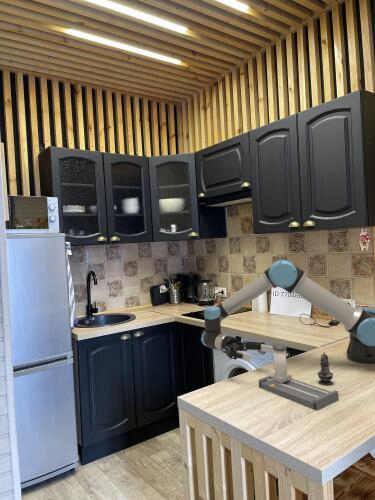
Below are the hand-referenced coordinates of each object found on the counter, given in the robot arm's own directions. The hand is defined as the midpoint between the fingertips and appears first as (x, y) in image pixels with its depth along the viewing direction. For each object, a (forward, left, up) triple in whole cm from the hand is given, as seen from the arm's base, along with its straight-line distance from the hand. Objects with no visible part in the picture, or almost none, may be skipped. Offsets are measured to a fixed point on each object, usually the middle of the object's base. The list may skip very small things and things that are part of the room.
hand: (261, 354), depth 145 cm
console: (0, +17, -11) cm, 20 cm away
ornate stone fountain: (-16, +18, -11) cm, 26 cm away
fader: (0, +10, -8) cm, 12 cm away
